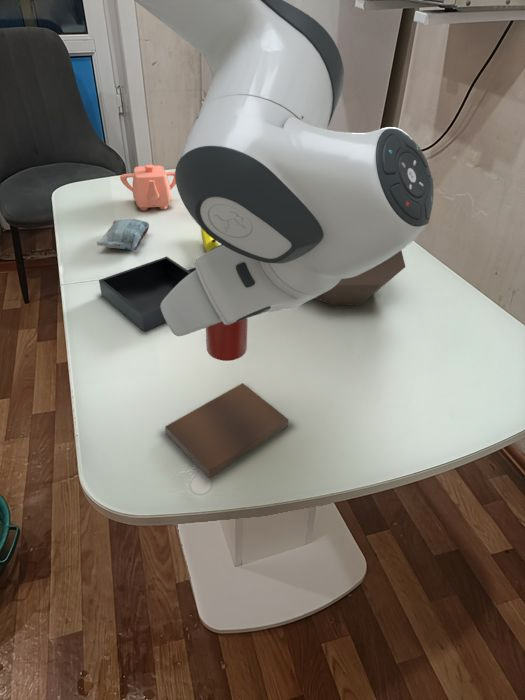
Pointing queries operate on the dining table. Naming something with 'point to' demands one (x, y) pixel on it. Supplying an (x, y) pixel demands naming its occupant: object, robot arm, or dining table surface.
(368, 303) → the dining table surface
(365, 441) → the dining table surface
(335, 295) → the brown soup pot
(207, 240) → the banana
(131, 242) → the packaged food
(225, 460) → the walnut board
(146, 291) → the steel pan
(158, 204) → the teapot
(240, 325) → the red cylinder
